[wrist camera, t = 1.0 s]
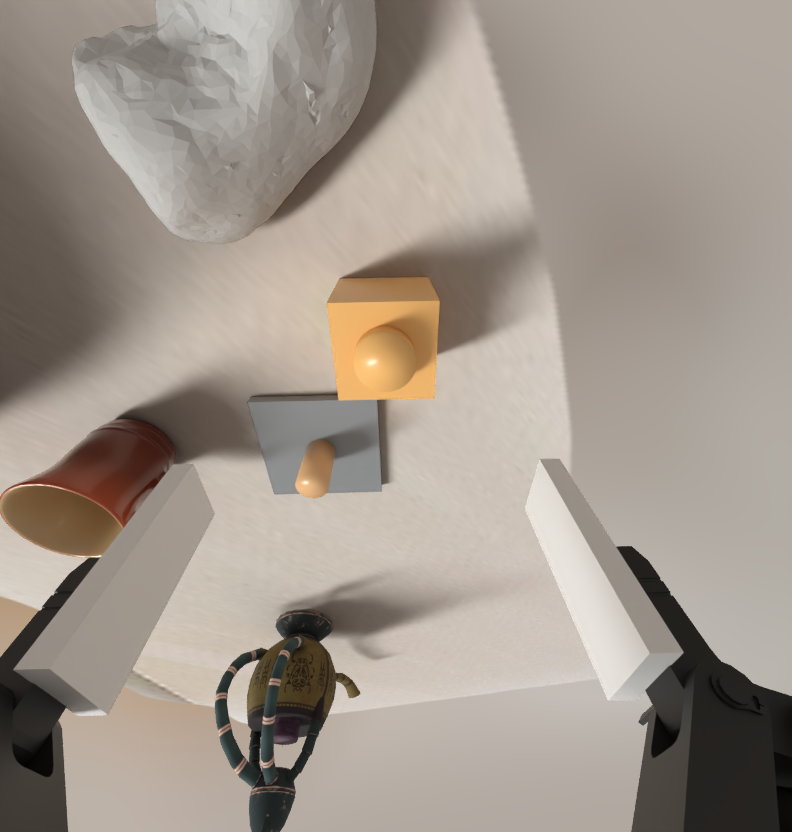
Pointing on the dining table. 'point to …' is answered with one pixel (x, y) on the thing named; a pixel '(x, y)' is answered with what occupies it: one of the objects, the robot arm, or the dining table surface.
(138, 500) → the mug
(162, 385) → the dining table surface
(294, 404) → the plate
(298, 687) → the teapot
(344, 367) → the orange cube with dome
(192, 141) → the decorative stone
